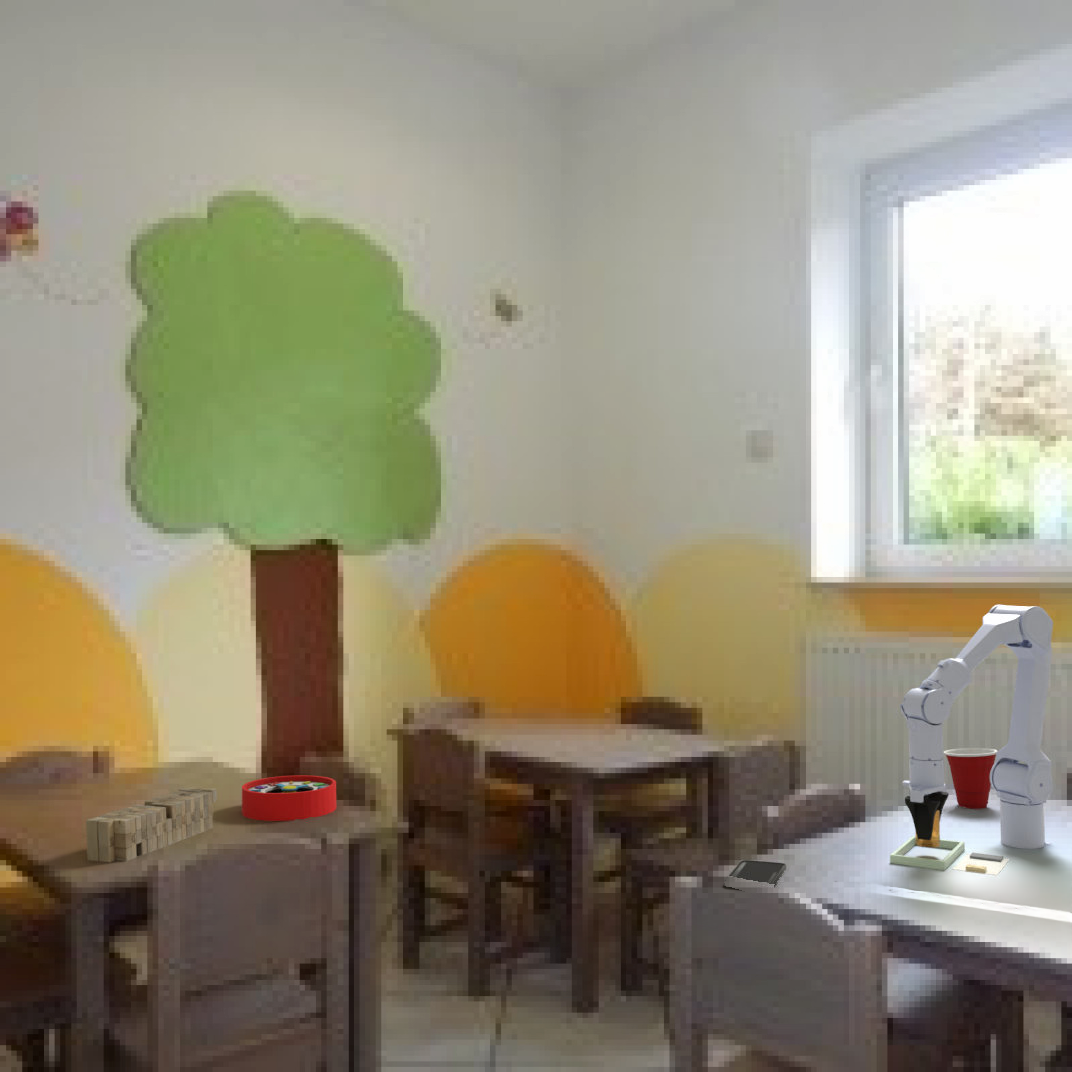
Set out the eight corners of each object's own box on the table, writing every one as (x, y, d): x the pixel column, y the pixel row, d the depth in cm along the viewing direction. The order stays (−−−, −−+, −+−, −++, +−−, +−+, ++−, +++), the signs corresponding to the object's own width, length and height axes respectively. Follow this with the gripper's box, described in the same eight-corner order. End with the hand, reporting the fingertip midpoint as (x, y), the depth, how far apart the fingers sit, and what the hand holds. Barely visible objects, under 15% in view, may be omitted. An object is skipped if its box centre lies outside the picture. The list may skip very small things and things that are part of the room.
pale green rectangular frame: (912, 849, 206) (912, 835, 206) (964, 856, 201) (964, 842, 201) (890, 869, 193) (890, 854, 193) (945, 876, 188) (944, 861, 188)
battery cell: (918, 840, 200) (918, 803, 200) (942, 843, 197) (941, 805, 198) (913, 845, 196) (912, 807, 196) (936, 848, 194) (936, 810, 194)
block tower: (120, 869, 204) (219, 827, 231) (119, 823, 204) (218, 786, 231) (85, 865, 207) (187, 824, 234) (84, 819, 206) (186, 783, 234)
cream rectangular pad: (966, 860, 198) (966, 850, 198) (1009, 866, 194) (1009, 855, 194) (952, 876, 188) (952, 865, 188) (997, 882, 185) (997, 871, 185)
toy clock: (267, 798, 231) (226, 783, 247) (267, 826, 231) (226, 810, 247) (353, 784, 244) (309, 771, 259) (353, 812, 244) (309, 797, 259)
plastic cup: (961, 798, 248) (959, 743, 248) (1008, 806, 240) (1007, 749, 240) (934, 805, 241) (933, 749, 241) (982, 814, 233) (981, 755, 233)
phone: (722, 882, 184) (742, 859, 198) (722, 889, 184) (742, 865, 198) (771, 887, 181) (787, 863, 195) (771, 894, 181) (788, 869, 195)
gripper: (913, 749, 205) (914, 825, 205) (891, 762, 193) (892, 842, 193) (953, 753, 202) (955, 829, 201) (934, 766, 189) (935, 847, 189)
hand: (927, 836), depth 197 cm, fingers closed on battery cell, 4 cm apart
